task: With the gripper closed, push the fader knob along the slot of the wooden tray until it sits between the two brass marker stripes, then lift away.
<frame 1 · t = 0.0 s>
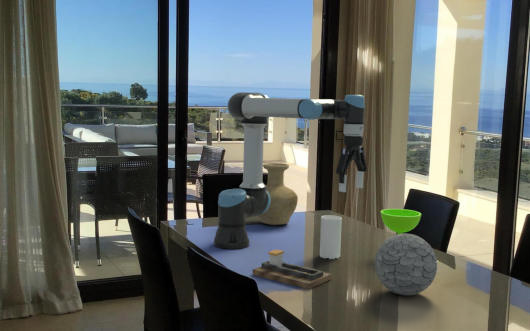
hand: (351, 189, 227), 28 cm above the table, fingers open, 13 cm apart
vase: (274, 224, 292), on the table
decorative sphere: (404, 294, 192), on the table
fader knob: (275, 259, 210), point 5 cm above the table, slide at -7.0 cm
cup: (329, 256, 235), on the table
wineglass: (398, 256, 237), on the table
wooden tray: (291, 277, 206), on the table
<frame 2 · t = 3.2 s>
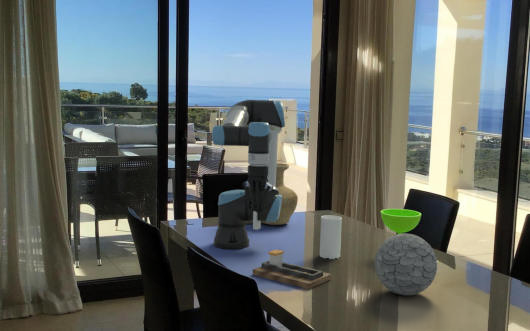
hand: (256, 228, 214), 15 cm above the table, fingers closed
nothing on the table moved.
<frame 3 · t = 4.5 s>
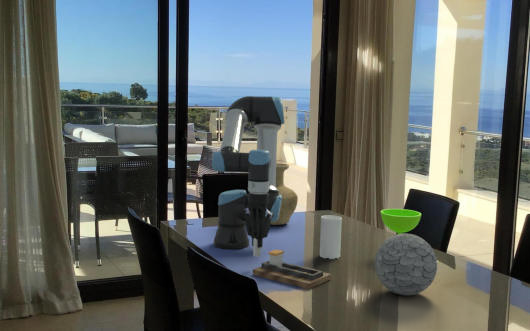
hand: (256, 255, 215), 5 cm above the table, fingers closed
nothing on the table moved.
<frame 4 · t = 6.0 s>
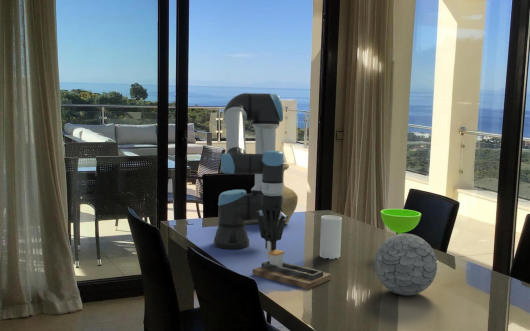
hand: (270, 258, 211), 5 cm above the table, fingers closed
fader knob: (276, 259, 210), point 5 cm above the table, slide at -6.8 cm, touching gripper
everything else where it was.
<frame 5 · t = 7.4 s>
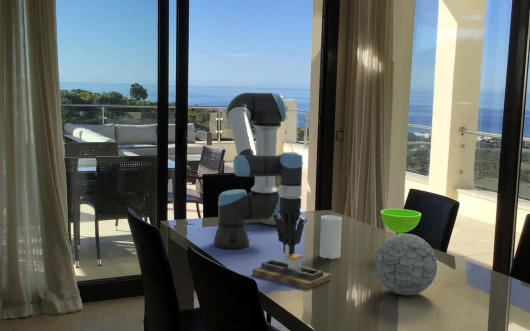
hand: (288, 262, 206), 5 cm above the table, fingers closed
fader knob: (294, 263, 205), point 5 cm above the table, slide at 1.2 cm, touching gripper
everything else where it was.
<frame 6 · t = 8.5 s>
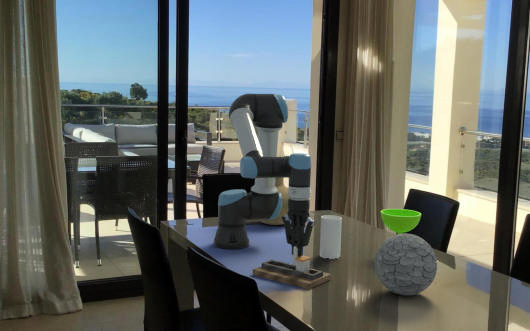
hand: (296, 264, 204), 5 cm above the table, fingers closed
fader knob: (302, 265, 203), point 5 cm above the table, slide at 4.6 cm, touching gripper
everything else where it was.
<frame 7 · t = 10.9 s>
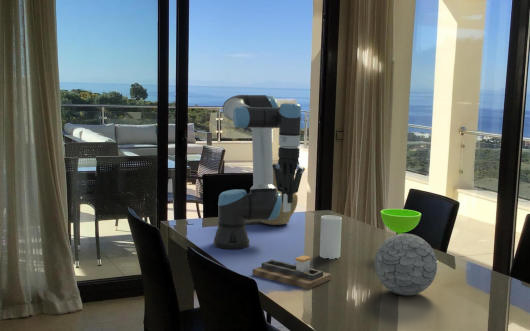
hand: (286, 211, 212), 22 cm above the table, fingers closed
fader knob: (303, 265, 203), point 5 cm above the table, slide at 4.7 cm
everything else where it was.
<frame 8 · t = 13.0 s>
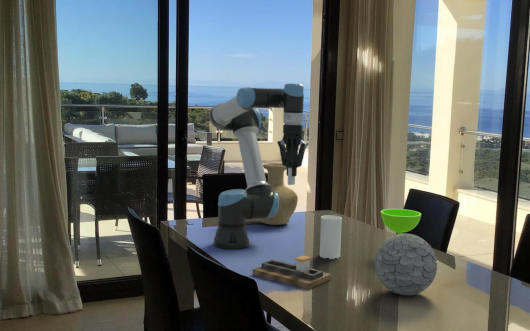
hand: (291, 184, 228), 29 cm above the table, fingers closed
nothing on the table moved.
at the end: fader knob slide at 4.7 cm; fader knob touching nothing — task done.
